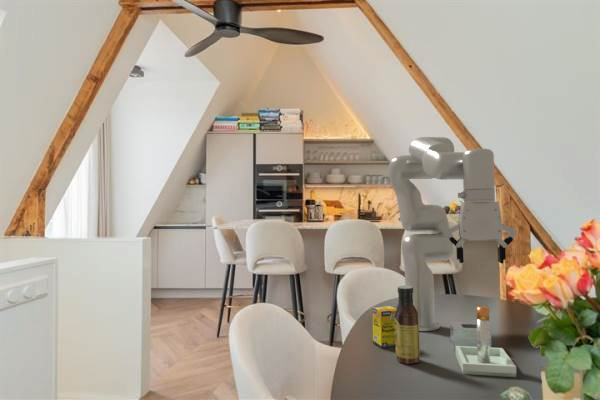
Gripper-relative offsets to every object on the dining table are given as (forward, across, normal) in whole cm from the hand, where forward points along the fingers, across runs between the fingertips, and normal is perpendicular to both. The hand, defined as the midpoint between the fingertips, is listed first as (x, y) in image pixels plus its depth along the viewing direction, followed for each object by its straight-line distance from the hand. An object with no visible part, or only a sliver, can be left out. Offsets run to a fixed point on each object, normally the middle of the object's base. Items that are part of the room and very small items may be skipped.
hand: (480, 262), depth 112 cm
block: (+26, -1, +14) cm, 30 cm away
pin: (+25, 0, -1) cm, 25 cm away
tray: (+26, 0, -1) cm, 26 cm away
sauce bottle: (+26, -19, -1) cm, 33 cm away
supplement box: (+27, -25, +12) cm, 39 cm away
